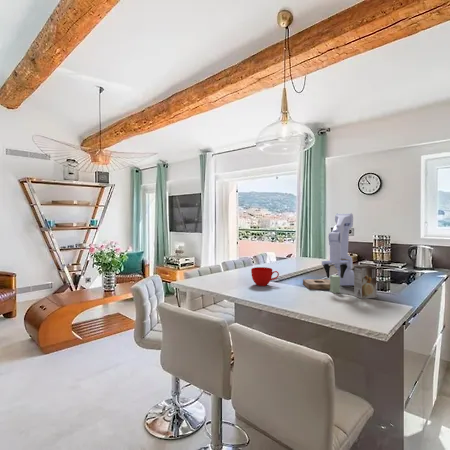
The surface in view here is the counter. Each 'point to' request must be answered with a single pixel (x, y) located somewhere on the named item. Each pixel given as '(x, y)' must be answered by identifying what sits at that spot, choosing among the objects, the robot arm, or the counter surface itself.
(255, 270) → the ceramic cup
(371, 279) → the coffee box
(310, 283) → the socket block
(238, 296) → the counter surface
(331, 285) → the peg
